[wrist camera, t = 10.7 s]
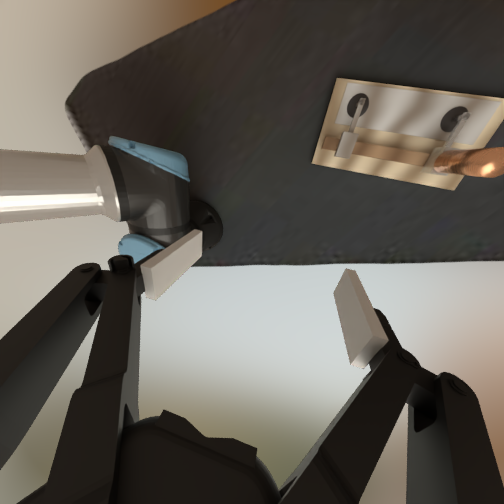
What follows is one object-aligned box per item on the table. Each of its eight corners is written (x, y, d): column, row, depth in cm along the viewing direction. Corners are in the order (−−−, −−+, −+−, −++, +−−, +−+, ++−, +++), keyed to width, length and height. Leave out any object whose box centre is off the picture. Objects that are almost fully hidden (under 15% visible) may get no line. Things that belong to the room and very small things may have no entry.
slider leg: (414, 171, 35) (469, 177, 23) (446, 113, 30) (534, 87, 19) (433, 174, 34) (499, 182, 23) (469, 117, 30) (572, 91, 18)
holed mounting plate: (311, 163, 40) (312, 163, 36) (336, 80, 33) (341, 68, 29) (449, 189, 36) (469, 193, 32) (509, 102, 29) (544, 92, 25)
